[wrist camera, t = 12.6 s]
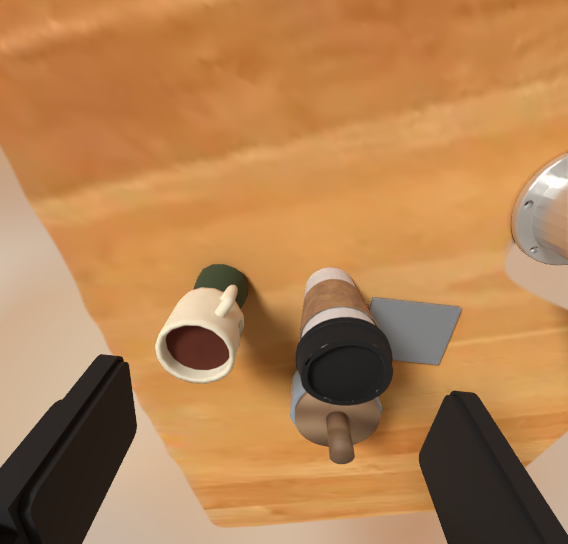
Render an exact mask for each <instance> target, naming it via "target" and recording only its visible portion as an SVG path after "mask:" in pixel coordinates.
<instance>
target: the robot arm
mask: <svg viewBox="0 0 568 544" xmlns="http://www.w3.org/2000/svg"><path fill="white" fill-rule="evenodd" d="M511 228H512V235H513V238H514V240H515V242H516V244H517V246H518V247H519V248H520V249H521V251H523V252H524V253H525V254H526V255H528V256H529V257H531V258H533V259H535V260H536V261H539V262H542V263H545V264H550V265H568V152H567V153H565V154H562V155H560V156H559V157H557V158H555V159H554V160H552V161H550V162H549V163H548V164H546V165H545V166H544V167H543V168H541V169H540V170H539V171H538V172H537V173H536V174H535V175H534V176H533V177H532V178H531V179H530V180H529V182H528V183H527V184H526V186H525V187H524V189H523V190H522V191H521V193H520V195H519V197H518V199H517V201H516V203H515V206H514V210H513V213H512V221H511ZM136 429H137V422H136V415H135V408H134V401H133V392H132V385H131V377H130V370H129V364H128V362H124V360H123V358H122V357H121V356H112V355H102V354H101V355H99V356H98V357H97V358H96V359H95V360H94V361H93V362H92V364H91V365H90V366H89V367H88V369H87V370H86V371H85V372H84V374H83V375H82V376H81V377H80V378H79V380H78V381H77V382H76V383H75V385H74V386H73V387H72V388H71V390H70V391H69V393H67V395H66V396H65V397H64V398H63V400H59V401H57V402H55V403H54V404H53V405H52V406H51V407H50V408H49V410H48V411H47V412H46V413H45V414H44V416H43V417H42V418H41V419H40V420H39V422H38V423H37V424H36V425H35V427H34V428H33V429H32V430H31V431H30V433H29V434H28V435H27V436H26V438H25V439H24V440H23V441H22V442H21V444H20V445H19V446H18V447H17V448H16V450H15V451H14V452H13V453H12V454H11V456H10V457H9V458H8V459H7V460H6V462H5V463H4V464H3V465H2V467H1V468H0V544H82V543H83V541H84V538H85V536H86V534H87V532H88V530H89V528H90V526H91V524H92V522H93V520H94V518H95V516H96V514H97V512H98V510H99V508H100V506H101V504H102V502H103V500H104V498H105V496H106V493H107V492H108V489H109V488H110V486H111V484H112V481H113V480H114V478H115V475H116V473H117V471H118V469H119V467H120V465H121V463H122V461H123V459H124V457H125V455H126V453H127V451H128V449H129V447H130V445H131V443H132V441H133V439H134V436H135V433H136ZM419 463H420V467H421V470H422V473H423V476H424V478H425V481H426V484H427V487H428V490H429V492H430V495H431V498H432V501H433V504H434V507H435V509H436V512H437V515H438V518H439V520H440V523H441V526H442V529H443V532H444V534H445V537H446V540H447V543H448V544H568V535H567V533H566V532H565V530H564V529H563V527H562V525H561V524H560V522H559V521H558V519H557V518H556V516H555V515H554V513H553V511H552V510H551V508H550V507H549V505H548V504H547V502H546V501H545V499H544V497H543V496H542V494H541V493H540V491H539V490H538V488H537V487H536V485H535V484H534V482H533V480H532V479H531V477H530V476H529V474H528V473H527V471H526V470H525V468H524V466H523V465H522V463H521V462H520V460H519V459H518V457H517V456H516V454H515V453H514V451H513V449H512V448H511V446H510V445H509V443H508V442H507V440H506V439H505V437H504V436H503V434H502V432H501V431H500V429H499V428H498V426H497V425H496V423H495V422H494V420H493V418H492V417H491V415H490V414H489V412H488V411H487V409H486V408H485V406H484V405H483V403H482V401H481V400H480V398H479V397H478V396H477V395H476V394H475V393H471V392H462V391H452V392H451V393H450V395H447V396H445V398H444V400H443V402H442V404H441V406H440V408H439V411H438V413H437V415H436V417H435V420H434V422H433V424H432V426H431V428H430V431H429V433H428V435H427V437H426V440H425V442H424V444H423V446H422V448H421V451H420V453H419Z"/></svg>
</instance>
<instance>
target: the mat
mask: <svg viewBox="0 0 568 544" xmlns="http://www.w3.org/2000/svg"><path fill="white" fill-rule="evenodd" d="M369 310H370V312H371V314H372V316H373V317H374V319H375V321H376V323H377V324H378V327H379V329H380V330H381V331H383V333H384V334H385V336H386V337H387V339H388V341H389V344H390V348H391V350H392V357H393V359H392V360H395V361H405V362H414V363H424V364H433V365H439V363H440V361H441V358H442V356H443V353H444V351H445V349H446V346H447V344H448V341H449V339H450V337H451V334H452V332H453V329H454V327H455V325H456V322H457V320H458V317H459V315H460V312H461V310H462V309H461V308H460V307H459V306H450V305H441V304H432V303H423V302H414V301H404V300H395V299H386V298H377V297H372V301H371V305H370V309H369Z"/></svg>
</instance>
